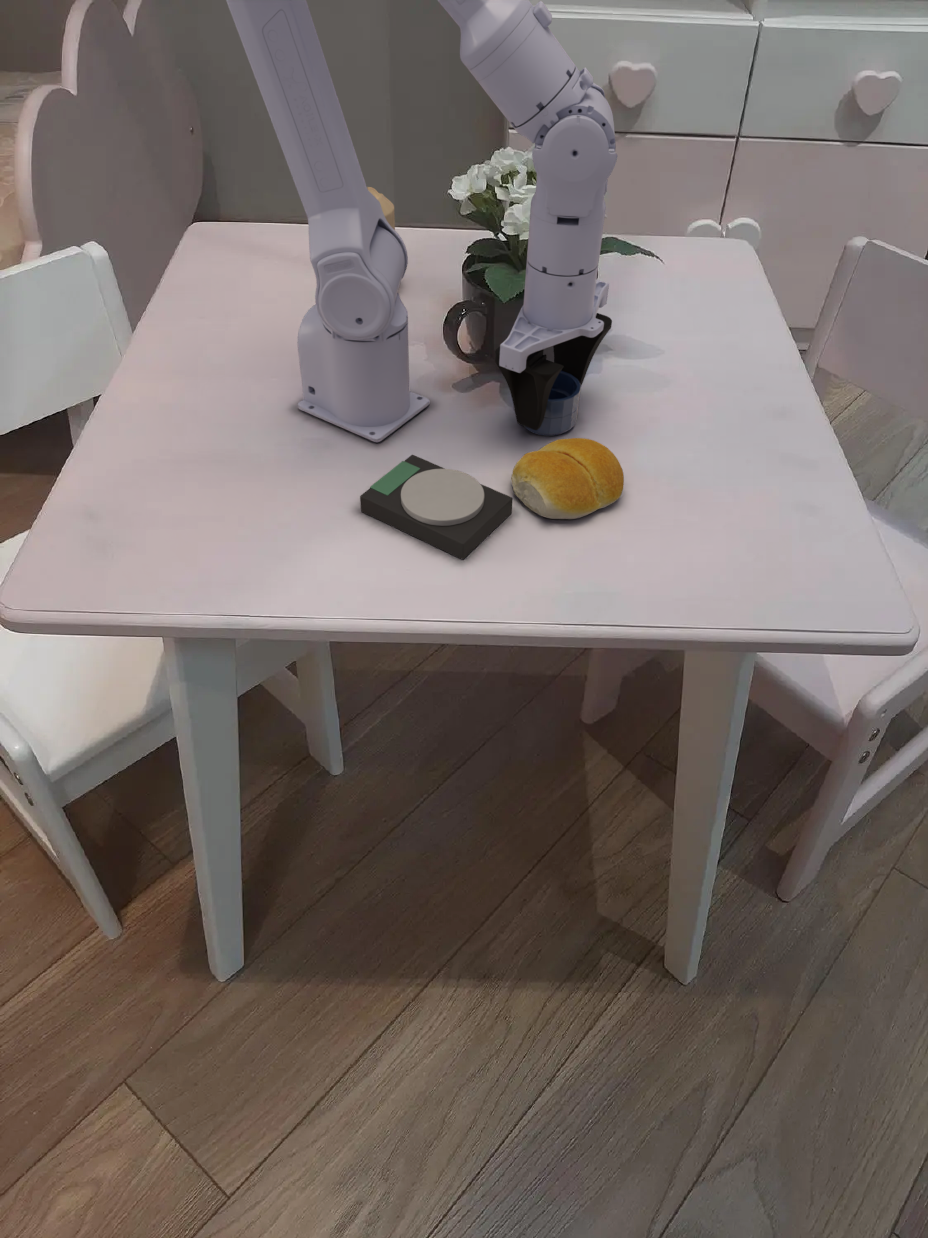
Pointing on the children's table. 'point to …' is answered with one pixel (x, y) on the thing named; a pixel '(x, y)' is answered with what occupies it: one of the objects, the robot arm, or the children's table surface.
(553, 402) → the cup
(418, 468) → the scale
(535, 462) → the bread roll
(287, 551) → the children's table surface
